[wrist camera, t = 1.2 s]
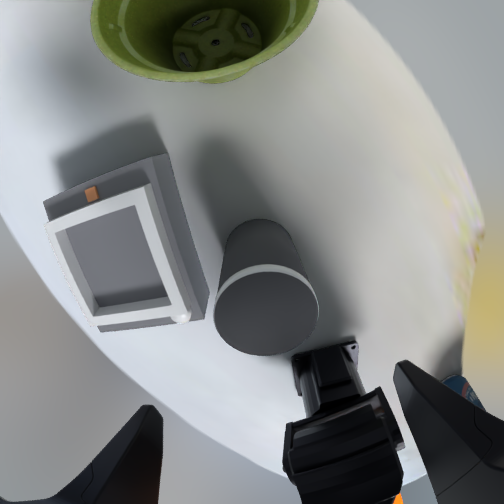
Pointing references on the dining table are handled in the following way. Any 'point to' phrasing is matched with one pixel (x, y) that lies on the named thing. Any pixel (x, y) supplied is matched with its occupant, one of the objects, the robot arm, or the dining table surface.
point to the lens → (263, 292)
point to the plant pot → (196, 35)
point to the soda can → (462, 389)
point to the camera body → (128, 248)
